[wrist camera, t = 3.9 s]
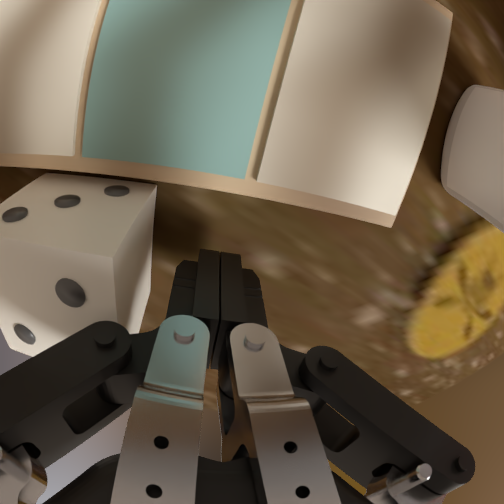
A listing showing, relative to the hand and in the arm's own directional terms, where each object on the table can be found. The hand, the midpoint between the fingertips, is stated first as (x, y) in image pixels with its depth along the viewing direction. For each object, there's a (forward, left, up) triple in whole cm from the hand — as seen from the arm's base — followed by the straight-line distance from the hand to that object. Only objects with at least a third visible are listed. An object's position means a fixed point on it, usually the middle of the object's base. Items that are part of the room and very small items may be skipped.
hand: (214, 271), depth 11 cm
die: (+5, 0, -1) cm, 5 cm away
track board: (+3, -8, -1) cm, 9 cm away
